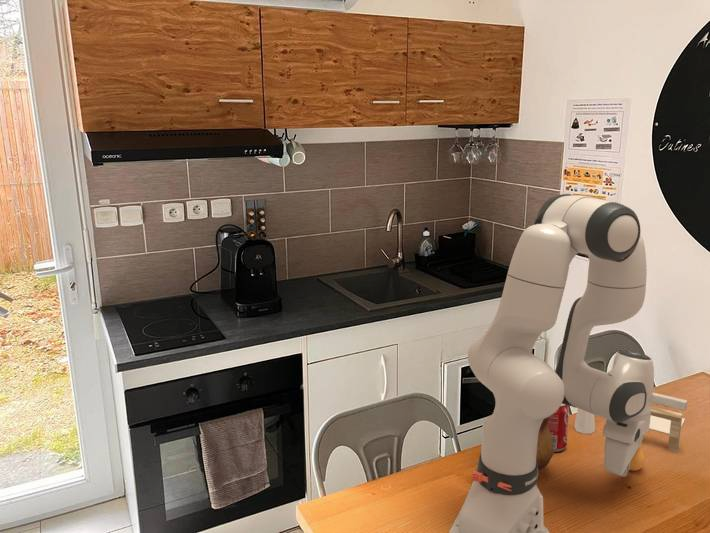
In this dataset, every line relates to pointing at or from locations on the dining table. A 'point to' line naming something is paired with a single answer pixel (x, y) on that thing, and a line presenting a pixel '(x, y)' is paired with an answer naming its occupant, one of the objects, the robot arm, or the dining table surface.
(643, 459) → the ball
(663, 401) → the wooden block bar
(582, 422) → the salt shaker
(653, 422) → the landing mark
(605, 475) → the dining table surface
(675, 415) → the bridge
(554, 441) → the soda can
